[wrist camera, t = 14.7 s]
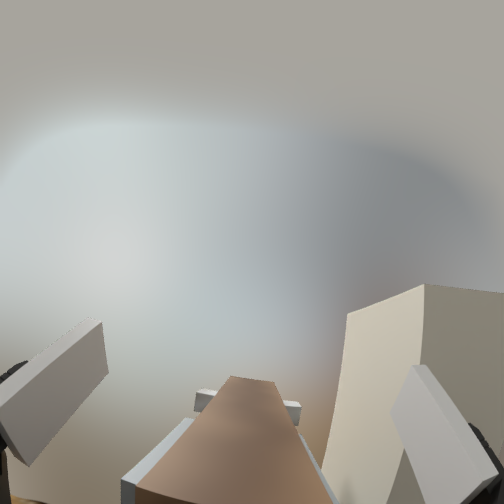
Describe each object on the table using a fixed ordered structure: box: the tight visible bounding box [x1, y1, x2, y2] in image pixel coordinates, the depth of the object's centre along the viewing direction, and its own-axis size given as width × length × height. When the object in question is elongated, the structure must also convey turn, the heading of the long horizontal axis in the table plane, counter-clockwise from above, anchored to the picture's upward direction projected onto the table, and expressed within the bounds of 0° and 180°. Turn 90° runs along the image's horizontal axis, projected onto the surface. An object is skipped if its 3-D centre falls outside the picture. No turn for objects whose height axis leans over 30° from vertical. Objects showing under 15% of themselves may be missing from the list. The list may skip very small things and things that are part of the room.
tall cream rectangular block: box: [321, 284, 504, 504], centre depth 16 cm, size 10×15×30 cm, turn 179°
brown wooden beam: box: [135, 376, 333, 504], centre depth 14 cm, size 9×22×4 cm, turn 179°
